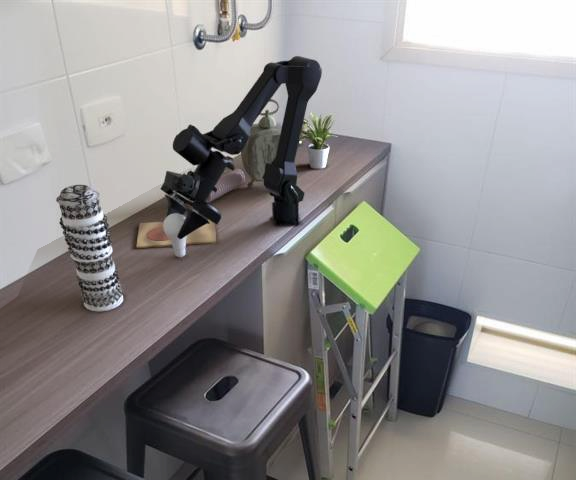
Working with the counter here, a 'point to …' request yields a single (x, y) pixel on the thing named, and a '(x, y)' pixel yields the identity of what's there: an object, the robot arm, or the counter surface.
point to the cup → (302, 133)
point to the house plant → (318, 142)
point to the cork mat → (156, 237)
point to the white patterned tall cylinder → (90, 247)
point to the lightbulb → (175, 232)
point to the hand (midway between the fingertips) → (172, 233)
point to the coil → (227, 184)
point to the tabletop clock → (261, 145)
